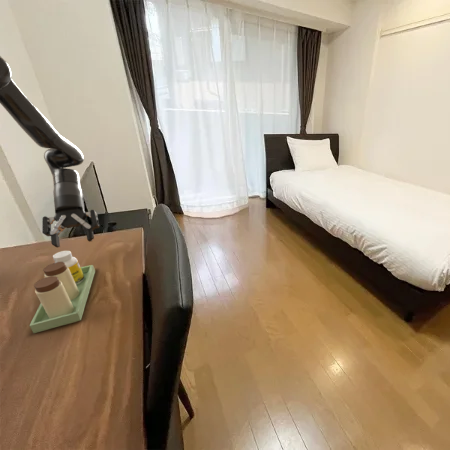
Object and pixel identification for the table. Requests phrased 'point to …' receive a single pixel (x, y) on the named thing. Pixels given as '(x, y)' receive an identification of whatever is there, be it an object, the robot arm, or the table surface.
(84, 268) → the tray
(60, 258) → the supplement bottle
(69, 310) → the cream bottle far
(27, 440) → the table surface
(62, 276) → the cream bottle middle
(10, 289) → the table surface
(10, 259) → the table surface
